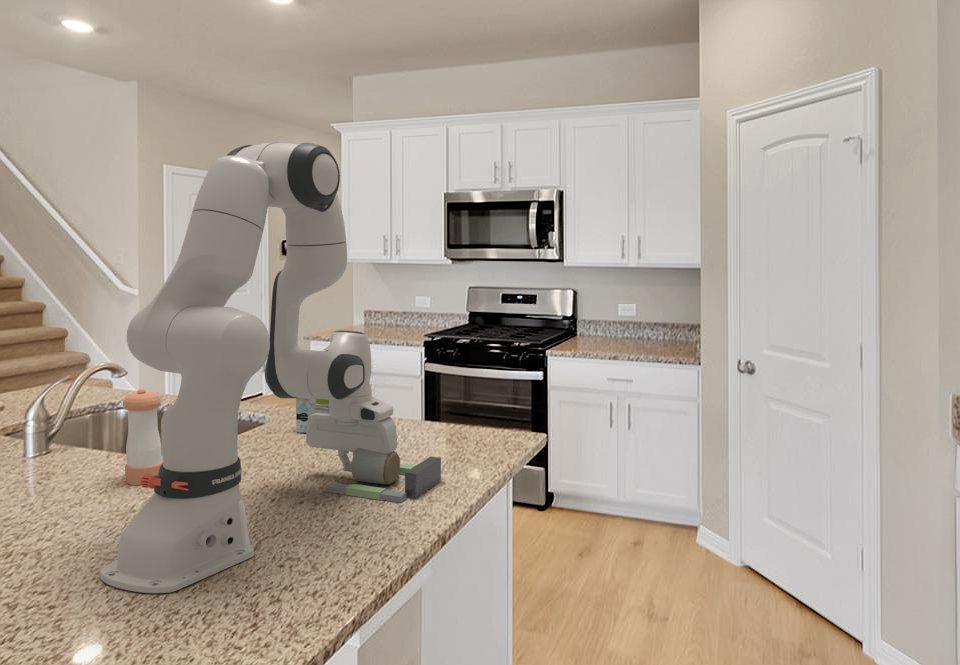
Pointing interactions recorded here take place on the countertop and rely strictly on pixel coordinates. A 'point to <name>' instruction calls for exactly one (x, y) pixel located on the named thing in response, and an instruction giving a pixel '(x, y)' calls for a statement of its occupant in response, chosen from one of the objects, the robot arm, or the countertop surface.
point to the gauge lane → (370, 489)
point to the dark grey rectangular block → (422, 477)
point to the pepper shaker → (142, 436)
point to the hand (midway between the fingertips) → (350, 471)
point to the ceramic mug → (375, 466)
